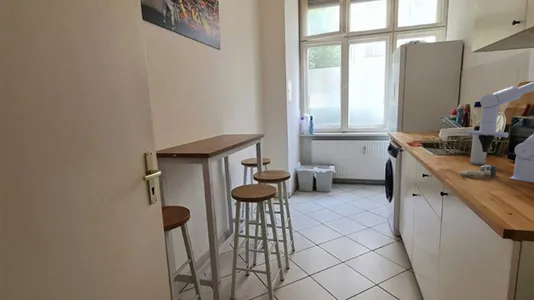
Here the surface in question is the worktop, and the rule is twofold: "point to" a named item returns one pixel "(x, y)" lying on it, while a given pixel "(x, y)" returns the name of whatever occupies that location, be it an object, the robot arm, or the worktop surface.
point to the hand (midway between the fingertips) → (484, 151)
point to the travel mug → (477, 150)
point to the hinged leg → (485, 167)
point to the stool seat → (476, 174)
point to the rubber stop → (493, 170)
